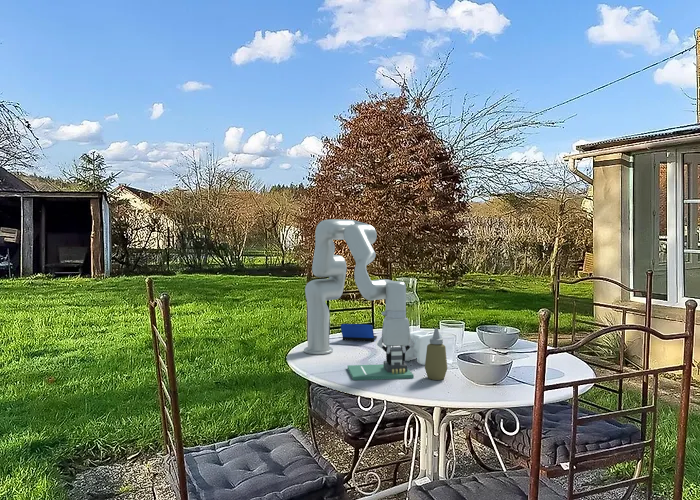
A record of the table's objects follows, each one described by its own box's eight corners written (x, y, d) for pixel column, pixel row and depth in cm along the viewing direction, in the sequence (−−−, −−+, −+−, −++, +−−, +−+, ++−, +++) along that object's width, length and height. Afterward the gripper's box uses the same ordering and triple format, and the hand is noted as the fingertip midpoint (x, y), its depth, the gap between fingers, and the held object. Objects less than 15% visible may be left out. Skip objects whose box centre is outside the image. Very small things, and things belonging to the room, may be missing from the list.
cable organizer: (418, 367, 210) (418, 337, 210) (398, 362, 218) (398, 333, 217) (442, 360, 220) (442, 332, 220) (422, 356, 228) (422, 328, 227)
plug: (389, 363, 203) (389, 347, 203) (399, 362, 203) (399, 346, 203) (391, 365, 199) (391, 349, 198) (402, 365, 199) (402, 349, 199)
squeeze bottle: (442, 382, 189) (442, 331, 188) (421, 379, 193) (421, 329, 192) (450, 377, 195) (451, 328, 195) (430, 374, 200) (430, 325, 199)
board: (347, 368, 207) (347, 356, 207) (403, 366, 210) (403, 355, 210) (353, 380, 191) (353, 367, 191) (413, 378, 194) (413, 365, 194)
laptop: (377, 338, 265) (377, 319, 265) (372, 344, 252) (372, 324, 252) (346, 337, 269) (346, 318, 268) (340, 342, 256) (340, 323, 255)
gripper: (375, 316, 196) (375, 366, 196) (420, 315, 198) (420, 365, 198) (371, 313, 203) (371, 361, 204) (415, 312, 205) (415, 360, 206)
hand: (395, 362), depth 201 cm, fingers closed on plug, 4 cm apart
